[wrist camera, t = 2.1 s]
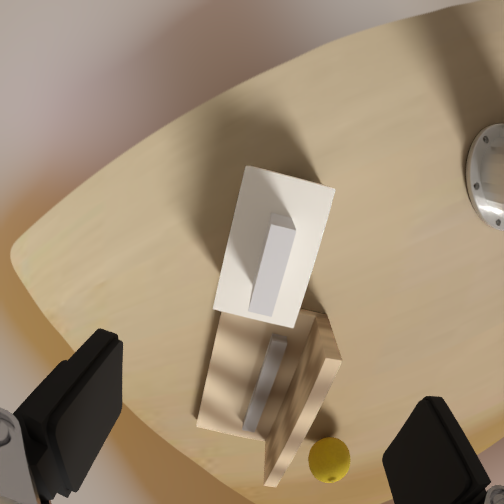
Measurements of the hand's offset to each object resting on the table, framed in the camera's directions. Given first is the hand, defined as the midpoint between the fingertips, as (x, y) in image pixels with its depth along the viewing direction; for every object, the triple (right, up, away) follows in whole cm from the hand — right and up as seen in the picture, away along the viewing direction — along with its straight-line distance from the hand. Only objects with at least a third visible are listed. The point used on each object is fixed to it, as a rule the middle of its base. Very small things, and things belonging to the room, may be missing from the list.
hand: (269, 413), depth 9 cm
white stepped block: (+1, +6, +23) cm, 24 cm away
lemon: (+10, -21, +31) cm, 39 cm away
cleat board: (0, -10, +28) cm, 30 cm away
